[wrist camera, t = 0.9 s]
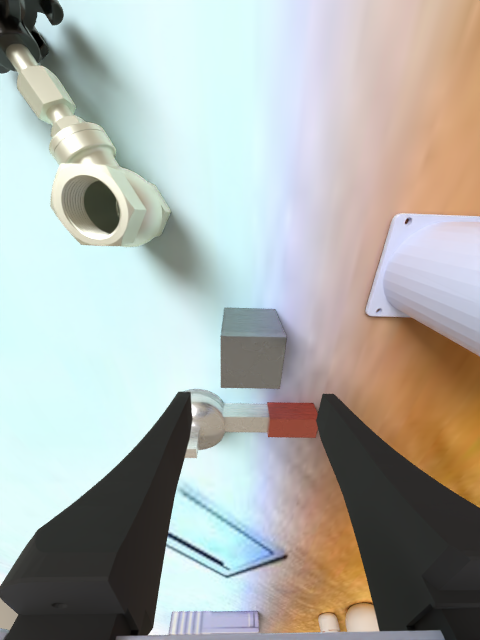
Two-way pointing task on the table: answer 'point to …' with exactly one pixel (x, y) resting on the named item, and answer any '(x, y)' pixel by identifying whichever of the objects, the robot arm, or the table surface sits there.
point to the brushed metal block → (251, 348)
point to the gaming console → (214, 622)
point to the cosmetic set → (352, 619)
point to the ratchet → (245, 420)
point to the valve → (77, 144)
